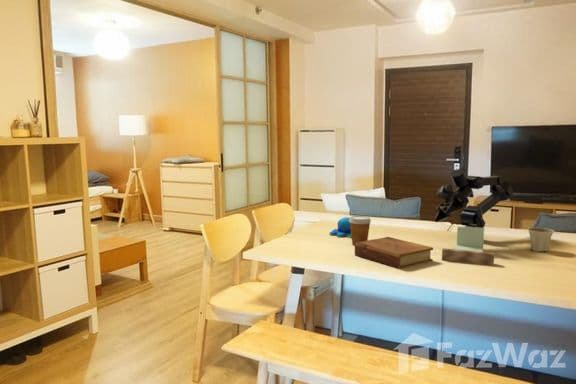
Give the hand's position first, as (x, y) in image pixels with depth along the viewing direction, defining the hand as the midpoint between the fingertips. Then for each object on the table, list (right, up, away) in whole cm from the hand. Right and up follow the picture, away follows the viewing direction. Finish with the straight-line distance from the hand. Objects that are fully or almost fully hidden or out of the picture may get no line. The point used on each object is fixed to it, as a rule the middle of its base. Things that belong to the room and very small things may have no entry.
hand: (440, 217), depth 195 cm
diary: (-24, -15, -16) cm, 33 cm away
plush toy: (-36, -10, +28) cm, 47 cm away
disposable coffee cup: (-33, -12, +6) cm, 36 cm away
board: (+3, -15, -22) cm, 27 cm away
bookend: (+8, -14, -11) cm, 19 cm away
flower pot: (+38, -13, -6) cm, 41 cm away
